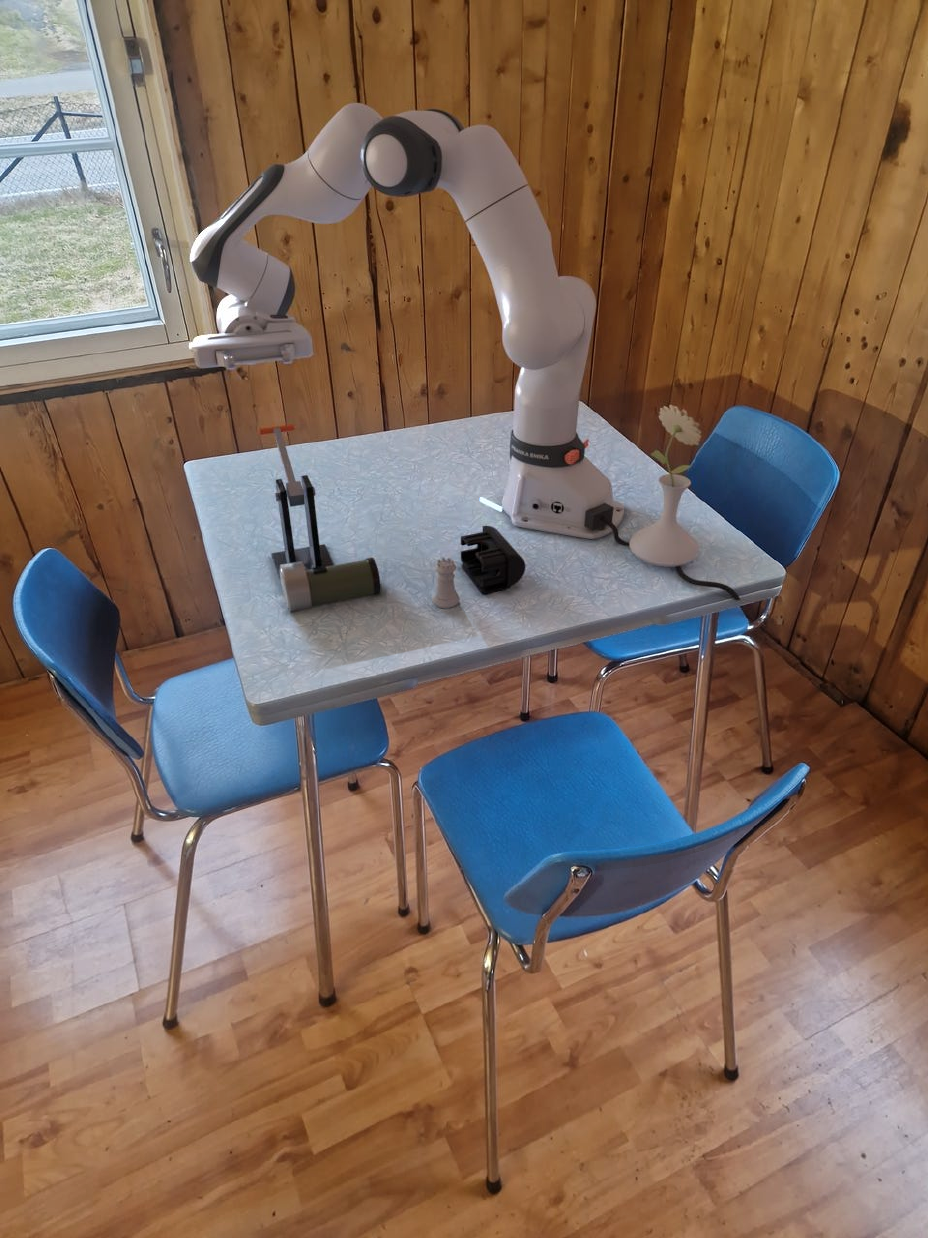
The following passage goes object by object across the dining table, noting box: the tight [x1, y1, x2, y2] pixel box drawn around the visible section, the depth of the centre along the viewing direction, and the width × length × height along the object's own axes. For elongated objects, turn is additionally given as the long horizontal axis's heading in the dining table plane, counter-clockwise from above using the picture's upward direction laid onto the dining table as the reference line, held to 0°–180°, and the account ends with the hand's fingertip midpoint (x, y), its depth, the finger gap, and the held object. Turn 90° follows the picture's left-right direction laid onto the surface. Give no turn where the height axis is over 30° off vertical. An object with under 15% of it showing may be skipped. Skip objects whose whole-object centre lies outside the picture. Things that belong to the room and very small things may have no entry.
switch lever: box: [258, 424, 305, 508], centre depth 130 cm, size 16×6×2 cm, turn 19°
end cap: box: [460, 525, 526, 596], centre depth 132 cm, size 10×7×7 cm
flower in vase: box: [628, 404, 702, 568], centre depth 133 cm, size 13×11×25 cm
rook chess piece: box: [431, 557, 461, 609], centre depth 125 cm, size 4×4×8 cm
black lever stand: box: [270, 474, 334, 587], centre depth 131 cm, size 11×9×16 cm
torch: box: [280, 556, 382, 613], centre depth 126 cm, size 14×7×7 cm, turn 110°
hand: (259, 361), depth 138 cm, fingers open, 8 cm apart
